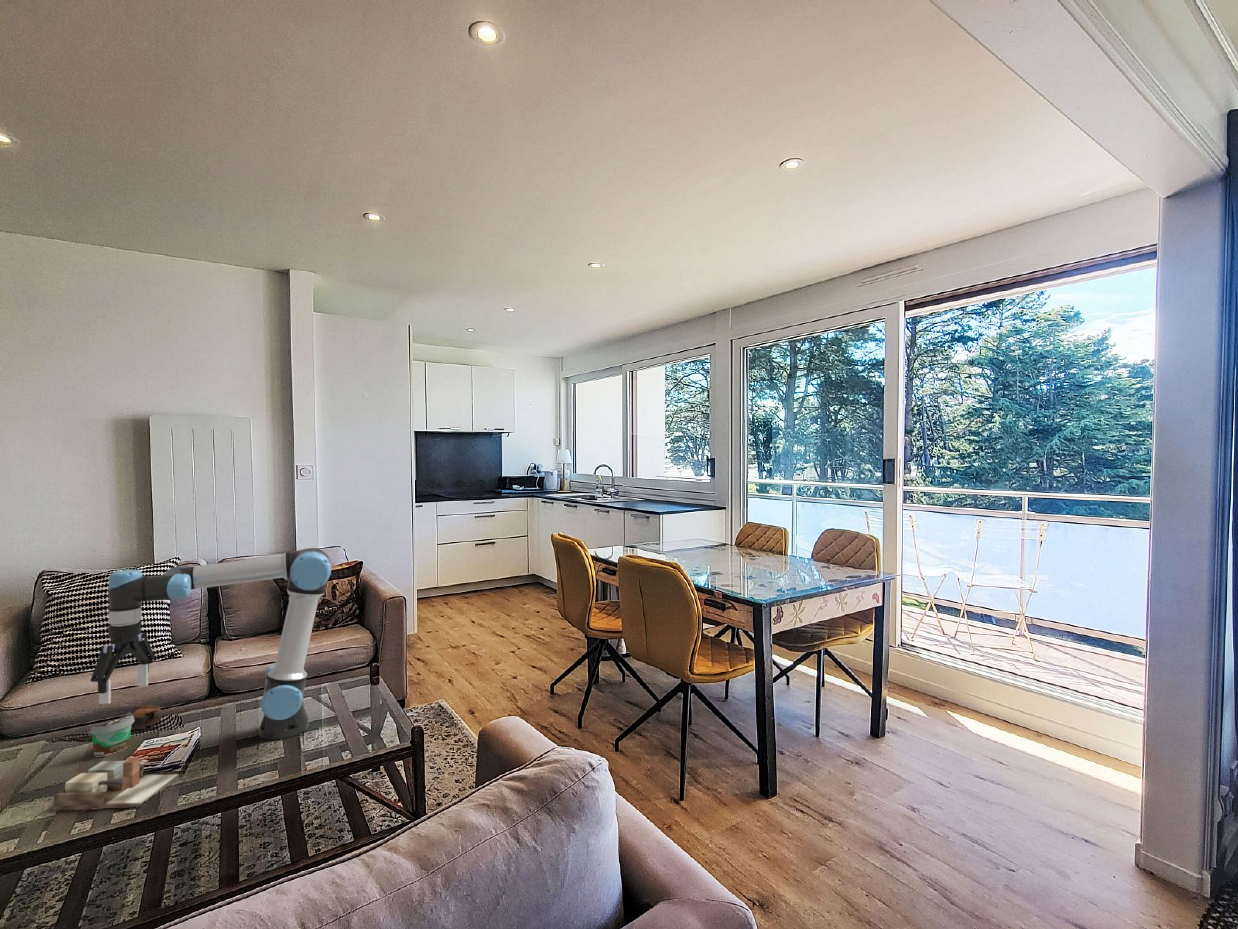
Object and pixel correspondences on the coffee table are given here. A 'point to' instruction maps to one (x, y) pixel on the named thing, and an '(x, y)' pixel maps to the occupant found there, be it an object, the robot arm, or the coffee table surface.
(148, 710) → the pottery mug
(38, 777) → the coffee table surface
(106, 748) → the food container
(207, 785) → the coffee table surface
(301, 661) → the robot arm
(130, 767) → the pull block
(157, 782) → the lane rack
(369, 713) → the coffee table surface
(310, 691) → the coffee table surface
